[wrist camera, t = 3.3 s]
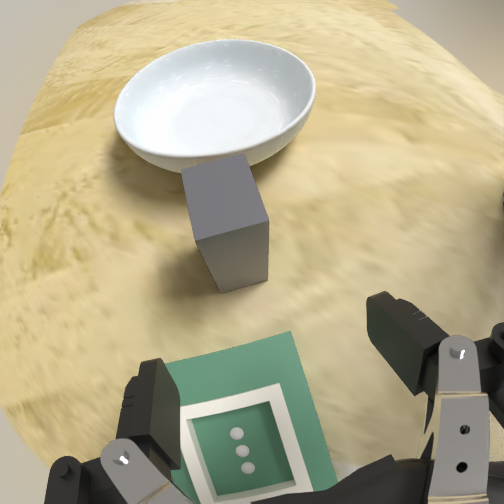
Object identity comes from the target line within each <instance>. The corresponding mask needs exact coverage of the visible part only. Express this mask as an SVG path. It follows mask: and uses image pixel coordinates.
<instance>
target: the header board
mask: <svg viewBox="0 0 504 504" xmlns="http://www.w3.org/2000/svg"><path fill="white" fill-rule="evenodd" d="M165 366H166V367H167V369H168V371H169V373H170V375H171V376H172V378H173V380H174V382H175V384H176V385H177V388H178V391H179V394H180V447H181V469H179V470H171V475H172V478H173V480H174V483H175V484H176V485H177V486H178V487H179V488H180V489H181V490H182V491H183V492H184V493H185V494H187V495H188V496H189V497H190V498H191V499H192V500H193V501H194V502H195V503H196V504H251V503H250V502H253V501H257V500H262V499H267V498H271V497H275V496H279V495H283V494H288V493H302V492H313V491H322V490H326V489H328V488H330V487H332V486H334V485H335V484H337V483H338V482H337V478H336V475H335V472H334V468H333V465H332V462H331V458H330V455H329V452H328V448H327V445H326V442H325V439H324V435H323V432H322V429H321V426H320V422H319V419H318V416H317V413H316V409H315V406H314V403H313V400H312V397H311V393H310V390H309V387H308V384H307V381H306V377H305V374H304V371H303V368H302V365H301V362H300V358H299V355H298V352H297V349H296V346H295V343H294V340H293V336H292V333H291V331H289V332H285V333H282V334H279V335H275V336H272V337H269V338H265V339H262V340H258V341H255V342H251V343H248V344H244V345H240V346H237V347H233V348H229V349H225V350H221V351H218V352H214V353H210V354H205V355H201V356H197V357H193V358H189V359H184V360H180V361H175V362H171V363H166V364H165Z"/></svg>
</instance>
